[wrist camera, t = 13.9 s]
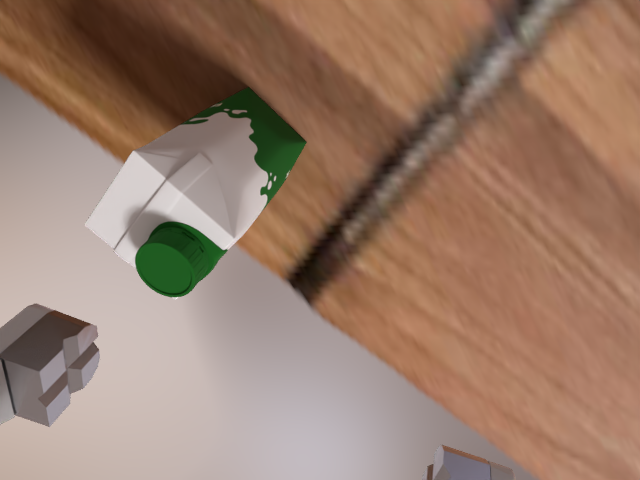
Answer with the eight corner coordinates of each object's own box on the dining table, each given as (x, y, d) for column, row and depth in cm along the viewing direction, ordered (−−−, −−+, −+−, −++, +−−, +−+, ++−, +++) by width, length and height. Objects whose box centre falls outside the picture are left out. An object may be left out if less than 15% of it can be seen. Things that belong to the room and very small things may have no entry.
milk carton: (265, 200, 49) (161, 329, 32) (195, 137, 47) (48, 239, 30) (320, 142, 44) (233, 257, 27) (245, 70, 42) (104, 145, 26)
